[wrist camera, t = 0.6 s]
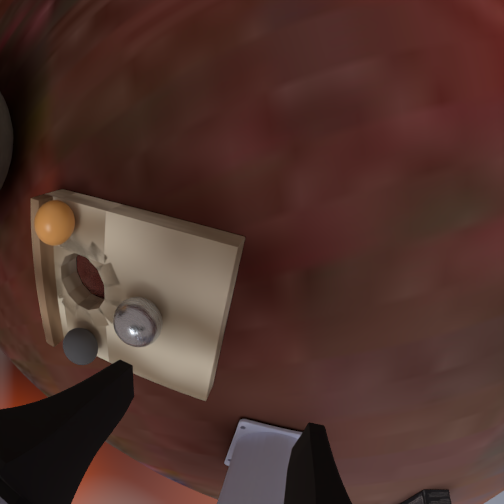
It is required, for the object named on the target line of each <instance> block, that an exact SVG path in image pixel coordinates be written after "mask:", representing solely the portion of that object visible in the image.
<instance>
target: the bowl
mask: <svg viewBox="0 0 504 504" xmlns="http://www.w3.org/2000/svg"><path fill="white" fill-rule="evenodd" d="M12 152H13V128H12V123H11V118H10V113H9V110H8V107H7V104H6V102H5V99H4V97H3V96H2V94H1V92H0V190H1V188H2V185H3V183H4V181H5V178H6V176H7V173H8V170H9V166H10V163H11V159H12Z"/></svg>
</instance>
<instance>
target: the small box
mask: <svg viewBox="0 0 504 504" xmlns="http://www.w3.org/2000/svg"><path fill="white" fill-rule="evenodd" d="M401 504H451V500H450V495H449V490H422V491H421V492H419V493H418V494H416V495H414V496H413V497H411V498H409V499H408V500H406V501H404V502H403V503H401Z"/></svg>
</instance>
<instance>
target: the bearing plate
mask: <svg viewBox="0 0 504 504" xmlns="http://www.w3.org/2000/svg"><path fill="white" fill-rule="evenodd" d="M52 200H59V201H62V202H64V203H66V204H67V205H68V206H69V207H70V208H71V209H72V211H73V214H74V217H75V227H74V231H73V233H72V235H71V237H70V238H69V239H68V240H67V241H66V242H64V243H63V244H60V245H56V246H52V245H48V244H46V243H44V242H42V241H41V240H40V239H39V237H38V236H37V234H36V231H35V227H34V220H35V216H36V213H37V211H38V210H39V208H40V207H41V206H42V205H43V204H45V203H46V202H48V201H52ZM31 234H32V249H33V261H34V271H35V279H36V287H37V294H38V300H39V306H40V312H41V317H42V322H43V327H44V332H45V337H46V341H47V343H49V344H50V345H52V346H53V347H55V346H56V345H57V344H58V343H59V342H60V341H62V340H63V339H64V337H65V335H66V334H67V333H68V332H69V331H70V330H72V329H74V328H84V329H87V330H88V331H90V332H91V333H92V334H93V335H94V336H95V338H96V340H97V343H98V353H97V356H98V357H100V358H102V359H104V360H106V361H108V362H110V363H112V364H113V363H114V362H116V361H118V360H122V361H124V362H127V363H129V364H131V365H133V373H134V374H136V375H139V376H141V377H143V378H146V379H148V380H150V381H153V382H155V383H158V384H160V385H163V386H165V387H168V388H170V389H173V390H176V391H178V392H181V393H184V394H187V395H189V396H192V397H195V398H198V399H201V400H204V401H206V400H207V398H208V395H209V393H210V391H211V388H212V386H213V383H214V378H215V373H216V369H217V364H218V359H219V355H220V350H221V345H222V341H223V336H224V332H225V327H226V322H227V318H228V313H229V309H230V304H231V300H232V295H233V291H234V286H235V281H236V277H237V272H238V268H239V263H240V259H241V255H242V250H243V246H244V241H245V237H244V236H240V235H236V234H233V233H229V232H225V231H222V230H218V229H214V228H210V227H207V226H203V225H199V224H195V223H192V222H188V221H184V220H180V219H177V218H173V217H169V216H165V215H161V214H158V213H154V212H150V211H146V210H142V209H138V208H135V207H131V206H127V205H123V204H119V203H115V202H111V201H107V200H103V199H100V198H96V197H92V196H88V195H84V194H80V193H76V192H72V191H68V190H64V189H61V190H57V191H54V192H50V193H47V194H43V195H40V196H36V197H33V198H31ZM78 254H79V255H81V256H84V257H86V258H87V259H88V260H89V261H90V262H91V263H92V264H93V265H94V266H95V267H96V268H97V269H98V272H99V274H100V276H101V279H102V281H103V283H104V295H105V298H104V299H102V298H100V297H98V296H95V295H93V294H91V292H90V291H89V290H88V289H87V288H86V287H85V286H84V285H83V284H82V282H81V279H80V277H79V275H78V272H77V263H76V257H77V255H78ZM131 297H142V298H146V299H148V300H150V301H151V302H152V303H154V304H155V305H156V307H157V308H158V309H159V311H160V313H161V316H162V330H161V333H160V335H159V337H158V338H157V339H156V340H155V341H154V342H153V343H152V344H150V345H148V346H145V347H133V346H130V345H127V344H126V343H124V342H123V341H122V340H121V339H120V338H119V337H118V336H117V334H116V332H115V329H114V326H113V317H114V313H115V310H116V308H117V307H118V305H119V304H120V303H121V302H123V301H124V300H126V299H128V298H131Z"/></svg>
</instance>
